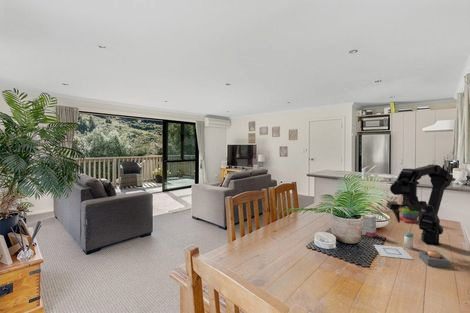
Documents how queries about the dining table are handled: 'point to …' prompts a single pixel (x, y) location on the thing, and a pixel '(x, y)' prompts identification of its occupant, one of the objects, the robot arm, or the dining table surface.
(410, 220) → the stacking bear
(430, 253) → the button
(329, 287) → the dining table surface
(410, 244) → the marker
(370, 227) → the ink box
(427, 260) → the button housing
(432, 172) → the robot arm
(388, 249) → the paper sheet
